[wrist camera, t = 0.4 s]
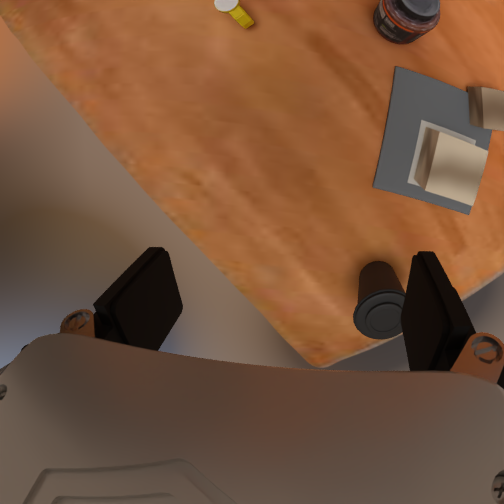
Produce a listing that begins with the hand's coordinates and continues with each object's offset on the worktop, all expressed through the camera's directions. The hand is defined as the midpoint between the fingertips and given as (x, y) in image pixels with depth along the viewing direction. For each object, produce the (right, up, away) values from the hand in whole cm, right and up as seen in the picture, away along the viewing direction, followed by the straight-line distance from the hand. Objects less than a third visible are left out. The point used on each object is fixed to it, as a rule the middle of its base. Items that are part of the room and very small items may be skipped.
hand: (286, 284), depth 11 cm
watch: (-3, +31, +18) cm, 36 cm away
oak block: (+28, +19, +15) cm, 37 cm away
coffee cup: (+17, -2, +31) cm, 36 cm away
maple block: (+23, +13, +20) cm, 33 cm away
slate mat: (+22, +15, +20) cm, 33 cm away
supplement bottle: (+16, +29, +14) cm, 36 cm away
